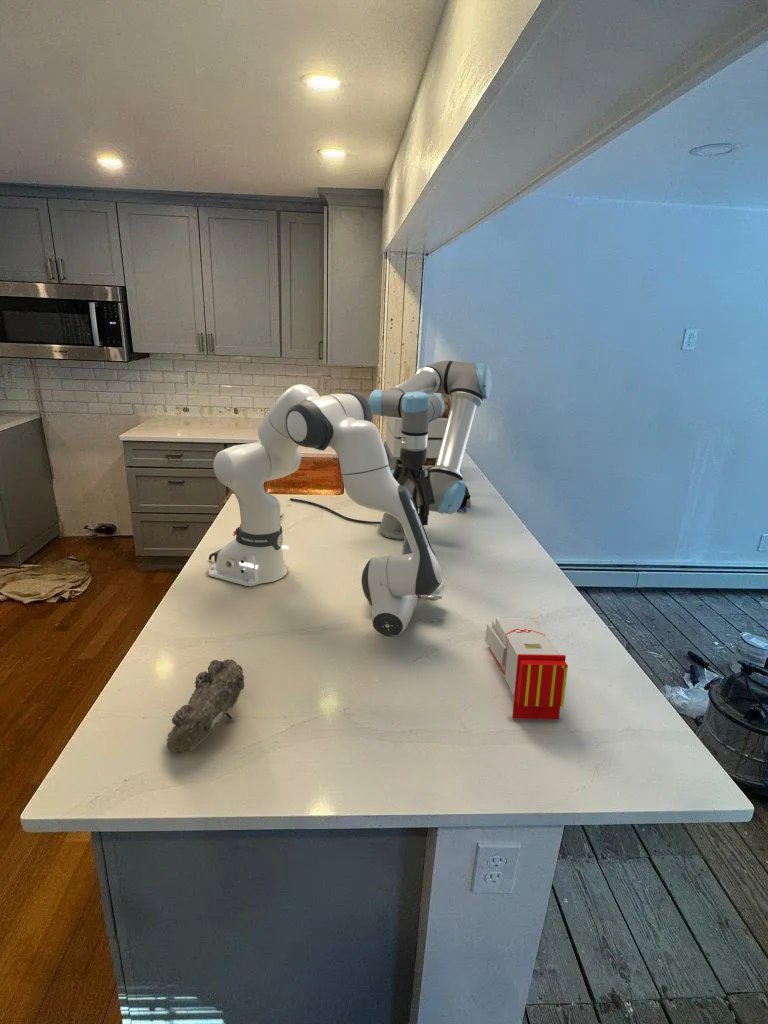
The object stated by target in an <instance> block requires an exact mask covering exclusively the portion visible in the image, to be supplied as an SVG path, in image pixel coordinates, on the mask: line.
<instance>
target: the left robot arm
mask: <svg viewBox="0 0 768 1024" xmlns="http://www.w3.org/2000/svg"><path fill="white" fill-rule="evenodd" d="M372 417H373V414H372V412H371V408H370V405H369V400H367V399H366V397H365V396H363V395H362V394H359V393H356V392H349V391H348V392H347V391H344V392H340V393H330V394H324V395H319V393H318V392H317V391H316V390H315V389H314V388H313V387H311V386H310V385H306V384H303V383H299V384H294V385H292V386H290V387H289V388H288V389H286V391H285V392H283V393H282V394H281V395H280V396H279V397H278V398H277V399H276V401H275V402H274V403H273V404H272V405H271V407H270V409H269V410H268V412H267V413H266V415H265V416H264V418H263V419H262V420H261V422H260V423H259V425H258V427H257V428H258V429H257V435H258V440H257V441H255V442H250V443H249V442H248V443H243V444H236V445H232V446H230V447H227V448H225V449H222V450H220V451H218V452H217V453H216V455H215V456H214V460H213V464H212V465H213V466H212V467H213V473H214V475H215V477H216V479H217V480H218V481H219V482H220V484H222V485H223V486H225V487H226V488H228V489H230V491H231V492H232V493H233V494H234V496H235V498H236V500H237V502H238V507H239V516H240V524H239V526H237V528H236V529H235V530H234V531H233V532H232V536H233V537H235V538H234V539H232V540H231V541H230V542H228V543H227V544H226V545H224V546H223V547H222V548H220V549H218V550H216V551H214V552H212V553H210V554H209V556H208V560H209V561H212V560H213V561H214V562H213V563H212V564H211V566H210V567H209V569H208V576H209V577H212V578H216V579H219V580H223V581H227V582H231V583H235V584H238V585H242V586H246V587H255V586H258V585H262V584H267V583H272V582H276V581H278V580H280V579H282V578H284V577H285V576H286V575H287V573H288V568H287V566H286V563H285V559H284V552H283V549H285V550H289V546H288V545H283V543H284V535H283V526H282V525H281V519H280V516H281V503H280V501H279V500H278V498H277V496H276V495H273V494H271V493H269V492H266V490H265V485H264V484H265V482H269V481H274V480H279V479H282V478H285V477H287V476H289V475H291V474H293V473H295V472H297V471H298V470H299V468H300V467H301V462H302V454H301V450H300V448H299V447H303V448H308V449H309V448H310V449H315V450H318V451H325V450H326V449H327V448H328V447H329V448H331V449H332V450H333V451H334V452H335V453H336V455H337V458H338V462H339V469H340V473H341V479H342V482H343V483H342V484H343V486H344V490H345V492H346V494H347V496H348V497H349V499H350V500H351V501H352V502H354V503H355V504H356V505H358V506H360V507H362V508H365V509H368V510H372V511H377V512H380V513H383V514H384V513H387V514H390V515H392V516H394V517H395V518H397V519H398V520H399V521H400V523H401V524H402V526H403V529H404V532H405V534H406V537H407V540H408V542H409V545H410V548H411V550H412V553H411V554H404V555H402V554H397V555H384V556H376V557H372V558H369V560H368V561H367V562H366V564H365V567H364V568H363V570H362V574H361V587H362V591H363V594H364V597H365V599H366V600H367V602H369V604H370V605H371V606H372V615H371V623H372V627H373V629H374V631H376V632H377V633H378V634H380V635H382V636H385V637H396V636H398V635H401V633H403V632H404V631H405V630H406V628H407V627H408V625H409V623H410V621H411V619H412V617H413V612H414V610H415V608H416V606H417V603H418V600H423V601H430V602H436V601H439V600H442V599H443V597H444V592H445V586H446V585H445V583H446V581H445V579H443V574H442V573H443V572H442V568H441V565H440V562H439V561H438V558H437V556H436V554H435V552H434V550H433V548H432V547H433V546H432V545H431V542H430V540H429V537H428V534H427V532H426V529H425V526H423V524H422V521H421V518H420V516H419V509H418V510H417V508H416V505H415V503H414V501H413V498H412V496H411V494H410V492H409V491H408V489H407V488H406V487H404V486H402V485H400V484H399V483H398V482H397V481H396V480H395V478H394V477H393V475H392V473H391V471H390V467H389V463H388V458H387V454H386V450H385V447H384V441H383V439H382V435H381V433H380V430H379V427H378V426H377V425H376V424H375V423H373V422H372ZM212 558H213V559H212Z"/></svg>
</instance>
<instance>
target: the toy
mask: <svg viewBox="0 0 768 1024" xmlns="http://www.w3.org/2000/svg"><path fill="white" fill-rule="evenodd" d="M484 642H485V643H486V645H487V646H488V650H489V651H490V654H491V655H492V657H493V659H494V660H495V662H496V664H497V666H498V667H499V669H500V671H501V672H502V675H503V676H504V678H505V680H506V682H507V684H508V686H509V688H510V691H511V693H512V694H513V704H512V705H513V706H512V715H511V717H512V719H513V720H560V714H561V708H563V707H564V704H565V695H566V685H567V677H568V668H569V666H568V663H567V662H566V657H567V656H566V654H560V653H559V651H558V650H557V648H556V647H555V646H554V645H553V643H552V642H551V640H550V639H549V638H548V636H547V635H546V634H545V632H544V631H543V629H542V628H541V627H540V625H539V623H537V621H536V620H535V619H534V618H523V617H522V618H521V617H520V618H519V617H516V618H515V617H496V618H495V620H492V622H491V624H490V623H486V629H485V637H484Z"/></svg>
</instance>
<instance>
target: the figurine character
mask: <svg viewBox="0 0 768 1024" xmlns="http://www.w3.org/2000/svg"><path fill="white" fill-rule="evenodd" d="M471 501H472V500H471V494H470V491H469V488H468V486H467V485H466V489H465V495H464V498H463V501H462V503H461V505H460V507H459V509H458V510H457V511H456V512H460V510H463V511H464V513H466V512H467V509H470V508H471V505H472V504H471ZM466 508H467V509H466Z"/></svg>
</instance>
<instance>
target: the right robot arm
mask: <svg viewBox="0 0 768 1024" xmlns="http://www.w3.org/2000/svg"><path fill="white" fill-rule="evenodd" d="M491 390H492V373H491V368H490V367H489V365H488V364H486V363H479V362H468V361H457V360H441V361H436V362H432V363H430V364H428V365H425V366H422V367H421V368H419V369H418V370H417V371H416V373H415V374H414V375H413V376H411V377H409V378H407V379H406V380H403V381H402V382H400V383H398V384H397V385H395V386H393V387H391V388H389V389H387V390H385V389H384V390H383V389H374V390H372V392H371V393H370V395H369V399H368V403H369V405H370V408H371V412H372V415H375V416H376V415H377V416H380V417H386V416H388V417H396V418H402V429H401V447H402V448H401V449H400V459H397V461H396V467H395V469H393V470H391V473H392V475H393V477H394V478H395V480H396V481H397V482H398V483H399V484H400V485H402V486H404V487H406V488H407V489H408V491H409V492H410V494H411V496H412V498H413V501H414V503H415V505H416V508H417V510H418V513H419V516H420V518H421V521H422V524H423V526H424V527H425V526H428V522H429V514H430V512H435V513H439V514H446V515H452V514H455V513H456V512H458V511H457V510H458V509H459V507H460V505H461V503H462V501H463V498H464V495H465V489H466V486H467V485H466V483H465V482H464V480H463V479H464V478H463V474H462V473H460V468H461V469H462V465H463V460H464V456H465V454H466V453H465V452H466V448H467V444H468V441H469V437H470V433H471V428H472V425H473V420H474V417H475V412H476V409H477V408H479V407H480V406H481V405H482V403H483V400H487V399H488V398H489V397H490V396H491ZM439 394H440V395H439ZM441 394H448V395H449V399H450V400H451V402H452V403H451V407H450V411H449V415H448V419H447V422H446V426H445V430H444V434H443V438H442V441H441V445H440V449H439V453H438V457H437V460H436V464H435V466H431V467H430V468H429V469H424V466H423V463H425V462H426V454H427V450H426V449H425V448H427V440H428V423H429V422H431V421H433V420H436V419H437V418H439V417H440V416H441V415H442V414H443V412H444V409H445V403H444V401H443V399H442V398H441ZM289 500H290V501H293V502H299V503H305V504H309V505H314V506H317V507H319V508H321V509H324V510H326V511H328V512H330V513H333V514H334V515H336V516H338V517H340V518H342V519H344V520H347V521H351V522H355V523H360V524H361V523H362V524H369V525H378V533H379V534H380V535H381V536H382V537H385V538H387V539H389V540H395V541H404V537H405V536H406V534H405V532H404V529H403V526H402V524H401V523H400V521H399V520H398V519H397V518H395V517H394V516H392V515H390V514H387V513H384V512H383V515H382V519H381V521H372V520H362V519H355V518H352V517H351V518H350V517H349V516H348V517H347V516H346V515H343V514H341V513H339V512H337V511H335V510H333V509H331V508H330V507H327V506H325V505H322V504H320V503H318V502H317V503H316V502H313V501H310V500H309V501H308V500H305V499H300V498H293V497H290V498H289ZM459 510H460V509H459Z"/></svg>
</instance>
